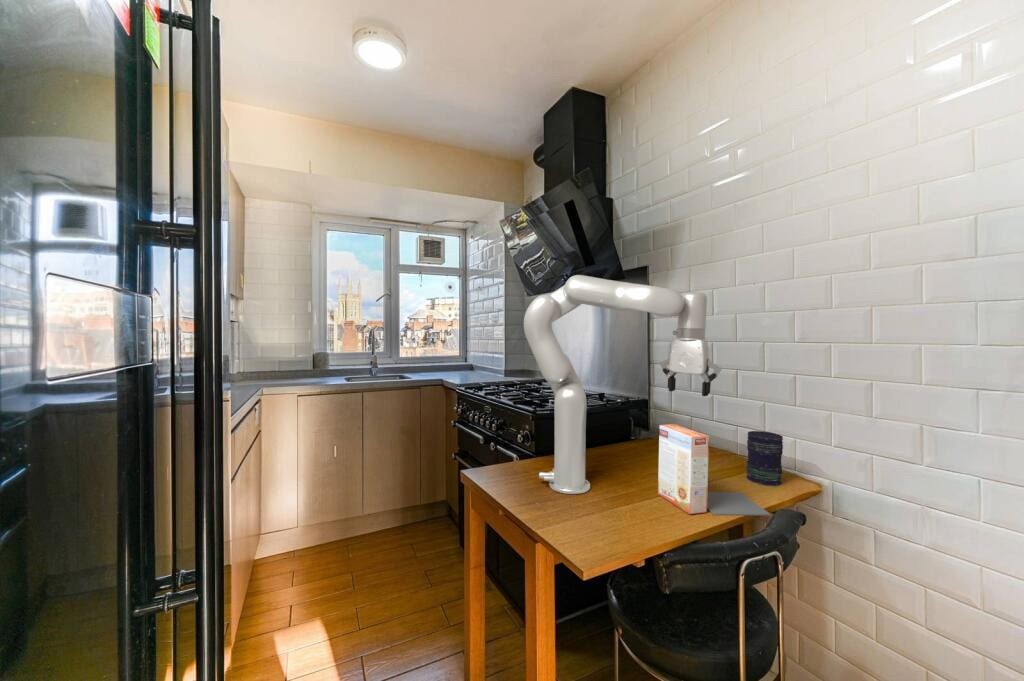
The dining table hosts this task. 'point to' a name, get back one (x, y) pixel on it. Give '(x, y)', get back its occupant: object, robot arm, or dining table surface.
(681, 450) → the cracker box
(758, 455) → the storage jar
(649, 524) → the dining table surface
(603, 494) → the dining table surface
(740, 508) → the mat
